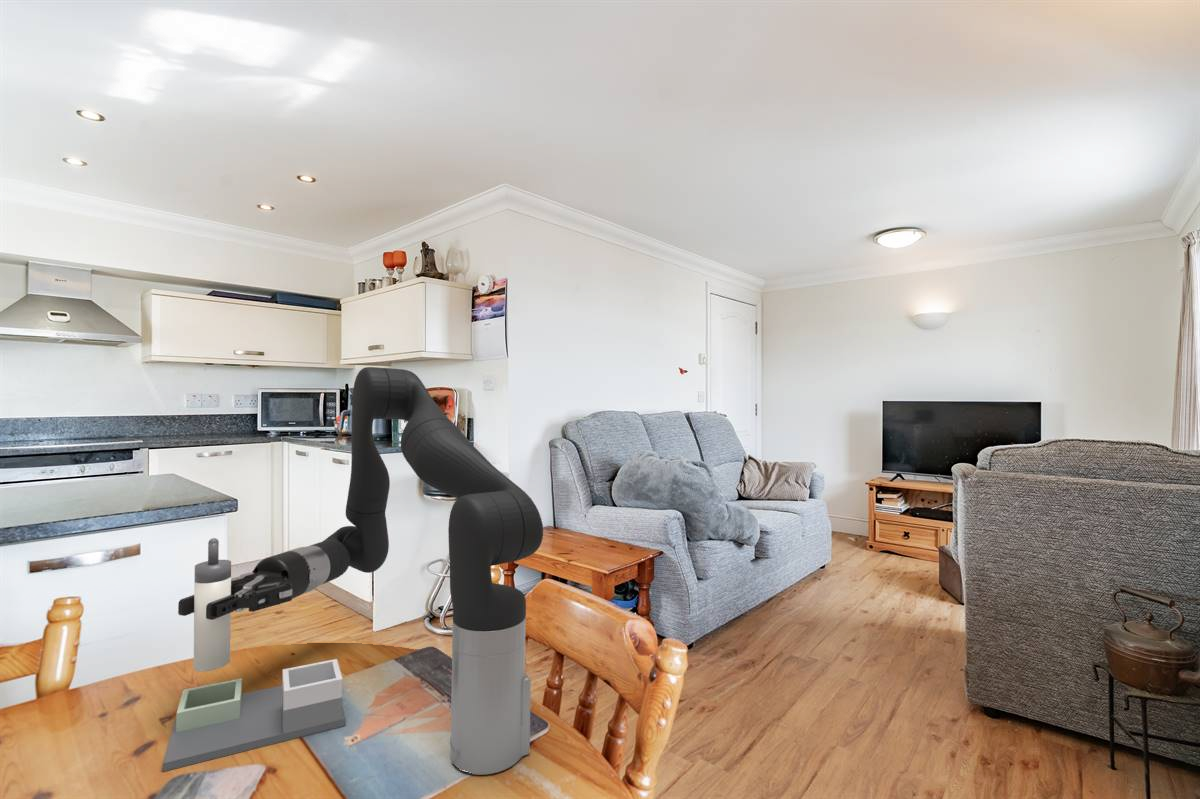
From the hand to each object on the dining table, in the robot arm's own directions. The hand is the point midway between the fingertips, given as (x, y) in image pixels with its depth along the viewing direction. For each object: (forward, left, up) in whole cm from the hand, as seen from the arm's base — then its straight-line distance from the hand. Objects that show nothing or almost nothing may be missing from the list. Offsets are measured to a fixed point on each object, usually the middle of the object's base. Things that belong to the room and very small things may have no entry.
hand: (194, 610), depth 76 cm
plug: (-2, -2, -8) cm, 9 cm away
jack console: (-8, +1, -16) cm, 18 cm away
